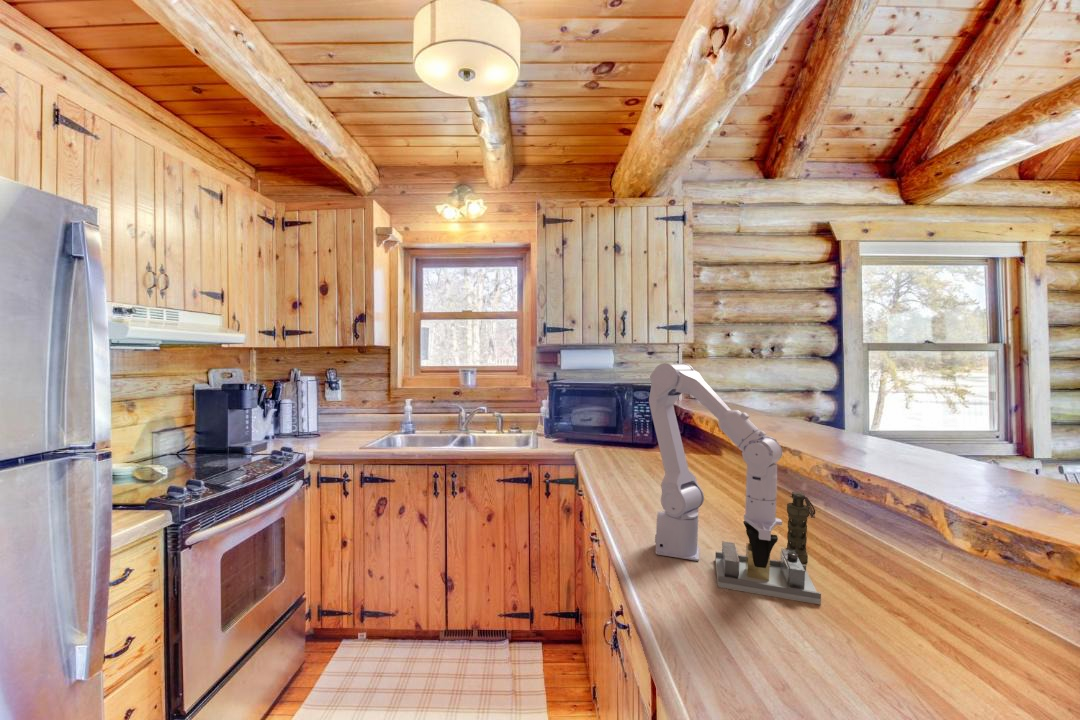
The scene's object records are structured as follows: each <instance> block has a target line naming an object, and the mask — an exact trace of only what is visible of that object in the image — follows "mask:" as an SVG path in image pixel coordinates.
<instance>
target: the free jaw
mask: <svg viewBox="0 0 1080 720" xmlns="http://www.w3.org/2000/svg"><path fill="white" fill-rule="evenodd" d="M779 561H780V566H781V569H782V571H783V574H784V576H785V579H786V581H787V584H788V586H789V587H791V588H797V589H803V590H804V585H805V570H804V568H803V566H802V564H803V563H801V562H800V560H799V558H798V554H796V552H795V550H789V549H785V548H781V551H780V560H779Z"/></svg>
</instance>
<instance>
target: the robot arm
mask: <svg viewBox="0 0 1080 720" xmlns="http://www.w3.org/2000/svg"><path fill="white" fill-rule="evenodd" d="M649 380H650V383H651V386H650V392H649V397H648V403H649V409H650V413H651V417H652V422H653V425H654V431H655V434H656V440H657V444H658V447H659V448H658V449H659V452H660V456H661V461H662V467H663V469H664V476H663V479H662V481H661V482H660V483H661V484H660V488H661V496H660V503H661V505H660V506H661V507H662V509H663V511H662V510H658V511H657V516H656V527H655V528H656V529H655V531H656V532H655V537H654V543H655V555H660V556H665V557H672V558H676V559H684V560H690V561H697V562H698V561H700V546H699V545H698V535H699V534H698V533H699V508H700V507H702V506H703V503H704V501H705V495H704V490H703V489H702V488H701V486H700V485H699V483H698V481H697V478H696V475H694V473H692V472H691V471H690V469H689V466H688V461H687V457H686V452H685V450H684V444H683V441H682V436H681V432H680V428H679V423H678V420H677V419H678V418H677V415H676V411H675V407H674V404H675V403H676V401H677V400H678V399H679V397H680V396H681V395H682V394H686V395H689V396H692V397H694V399H696V400H697V402H699V403H700V404H701V405H702V406H704V408H705V409H707V411H708V412H710V413H711V414H712V415H713V416H714V417H715V418H716V419H717V420H718V427H719V429H720V431H721V432H723V434H724V435H725V436H726V437H727V438H728V439H729V440H730V441H731V442H732V443H733V444H734V445H735V446H736V447H737V448H738V449H739V450H740V451H742V452H741V456H742V459H743V461H744V462H745V464H746V482H745V484H746V485H745V508H744V509H745V510H744V515H743V521H742V522H743V525H744V527H745V532H746V535H747V537H748V541H749V542H748V543H750V544H751V547H752V555H753V561H754V565H755V567H761V568H766V566H767V563H768V560H769V556H770V557H771V552H772V550H773V548H774V547H775V545H776V544H777V542H778V539H779V538H778V536H777V535H776V534H772V531H773V529H774V528H775V527H776V526H782V525H783V520H782V519H781V518H777V495H778V492H777V491H778V464H777V463H778V462H779V461H780V460H781V458H782V456H783V450H782V447H781V445H780V443H779V442H778V441H777V439H776V438H774V437H772V436H769V435H768V436H767V433H766V432H765V431H764V430H760V429H759V428H758V427H757V426H756V425H755V424H754V423H753V422H752V421H751V420H750V419H749V418H750V415H749V414H748V413H747V412H742V411H741V410H738V409H731V408H730V407H729V406H728V405H727V403H725V401H724V400H723V399H722V398H721V397H720V396H719V395H718V393H716V392H715V390H713V388H712V387H711V386H710V385H709V384H708V383H707V381H705V380H704V378H703V376H702V375H701V373H700V372H698V371H697V370H695V369H694V368H693V366H691V365H690V364H689V363H685V362H683V363H682V362H680V363H666V362H664V363H663V362H662V363H660V364H659V365H657V366H656V367H655V369H654V370H653V371H652V373H651V374H650V375H649Z"/></svg>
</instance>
